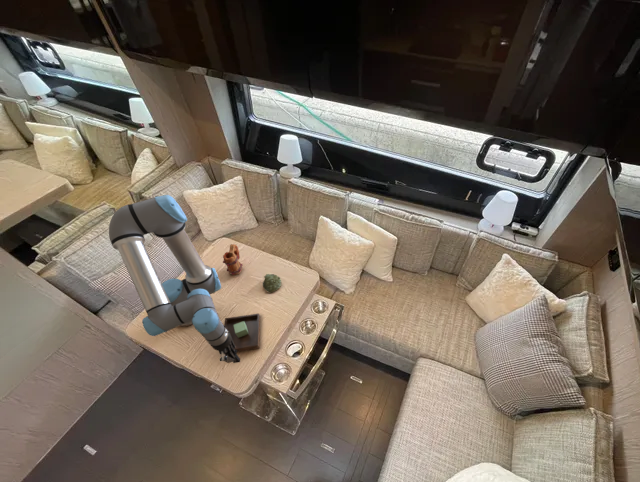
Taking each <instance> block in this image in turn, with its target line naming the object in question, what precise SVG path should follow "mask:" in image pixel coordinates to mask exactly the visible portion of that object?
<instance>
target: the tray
mask: <svg viewBox="0 0 640 482" xmlns="http://www.w3.org/2000/svg"><path fill="white" fill-rule="evenodd" d="M243 321H244V322H245V324H246V326H247V329H248V333H249V334H247V335H245V336H242V337H240V338H238V337H237V335H236V334H235V329H234V324H237V323H240V322H243ZM223 325H224V327H225V328H226V330H227V331H230V334H231V337H232V339H233V342H234V344H235V346H236V347H235V348H234V349H235V350H237V352H236V353H239V352H244V351H251V350H256V349H260V346H261V345H260V343H261V315H260V313H253V314H252V313H251V314H246V315H239V316H231V317H226V318H224V324H223ZM232 346H233V345H232Z"/></svg>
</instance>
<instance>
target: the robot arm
mask: <svg viewBox="0 0 640 482" xmlns="http://www.w3.org/2000/svg"><path fill="white" fill-rule="evenodd" d="M187 221H188V217H187V216H186V214H185V212H184V211H183V209H182V207H181V205H179V203H178V202H177V201H176V199H175V198H174V197H173V196H171V195H169V194H163V195H159V196H155V197H152V198H148V199H144V200H141V201H137V202H133V203H129V204H126V205H123V206H121V207H120V208H118V209H117V210H116V211H115V212H114V213H113V215H112V217H111V218H110V221H109V226H108V238H109V241H110V244H111V247H112V248H113V249H114V250H117V251H118V253H119V255H120V257H121V259H122V261H123V264H124V266H125V268H126V270H127V273H128V275H129V277H130V279H131V281H132V283H133V286H134V288H135V290H136V292H137V295H138V297H139V299H140V301H141V304H142V306H143V308H144V310H145V312H146V314H147V315H146V316H145V317H143V318H142V319H141V320H142V321H141V323H142V328H143V329H144V331H145V332H146V333H147V334H148V336H151V337H156V336H159V335H161V334H164V333H168V332H169V331H171V330H173V329H175V328H177V327H189V326H193V327H194V329H195V331H197V332H198V333H199V334H200V335H201V336H202V337H203V338H204V340H205V341H206V342H207V343H208V345H210V347H211V348H212V349H213V350H215V351H218V353H219V355H221V356H220V358H219V362H225V363H227V364H230V363H232V364H237V363H241V358H240V357H239V355H238V354H237V353H238V352H237V350H235V349H234V348H235V347H236V346H235V344H234V342H233V339H232V337H231V334H230V331H227V330H226V328H225V327H224V324H223V321H222V320H221V319H220V316H219V314H218V311H217V309H216V307H215V304H214V301H213V298H212V294H215V293H216V292H218V291H220V290H221V289H222V285H221V281H220V278H219V275H218V272H217V270H216V268H215V267H210V265H207V264H206V263H204V261H203V259H202V258H201V255H200V254H199V252H198V251H197V249H196V247H195V246H194V243H193V241H191V238H190V237H189V235H188V233H187V231H186V230H185V228H186V226H187V223H186V222H187ZM152 233H153V235H154V236H155V237H157V238H159V239H160V238H161V239H162V240H163V241H164V243H165V244H166V246H167V247H168V249H169V250H170V251H171V253H172V255H173V256H174V257H175V260H177V262H178V263H179V264H180V266H181V268H182V269H183V271H184V273H185V276H184V277H185V278H183V279H180V278H175V277H174V278H170V279H167V280H165V281H164V282H162V281H161V280H160V277H159V274H158V272H157V270H156V268H155V266H154V263H153V261H152V259H151V257H150V255H149V253H148V251H147V248H146V246H145V243H146V239H145V236H144V235H148V234H152ZM232 345H233V346H232Z"/></svg>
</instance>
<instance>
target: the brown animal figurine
mask: <svg viewBox="0 0 640 482" xmlns="http://www.w3.org/2000/svg"><path fill="white" fill-rule="evenodd" d="M222 259H223V261H222V263H223V264H224V265H226V267H227V268H226V270H225V271H226V272H228V273H229V274H231V275H232V276H237V275H239V274H240V273H241V272H242V269H243V263H241V262H240V261H239V259H240V249H239V248H238V246H237V244H233V243H232V244H230V245H229V251H226V252H224V254H223V255H222Z"/></svg>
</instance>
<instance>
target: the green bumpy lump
mask: <svg viewBox="0 0 640 482" xmlns="http://www.w3.org/2000/svg"><path fill="white" fill-rule="evenodd" d="M263 278H264V280H263V281H262V288H263V289H264V291H266V292H268V293H270V294H271V293H273V292H275V291H278V290H279V289H280V288H281V286H282V279H281V277H280V276H278V275H277V274H273V273H271V274H270V273H268V274H267V273H266V274H265V275H264V276H263Z"/></svg>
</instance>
